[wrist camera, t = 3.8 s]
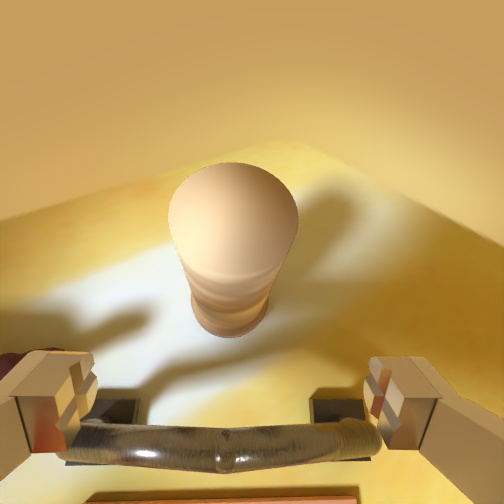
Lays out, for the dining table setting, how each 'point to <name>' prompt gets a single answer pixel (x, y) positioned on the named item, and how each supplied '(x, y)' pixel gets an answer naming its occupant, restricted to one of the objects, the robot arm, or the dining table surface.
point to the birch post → (231, 242)
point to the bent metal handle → (222, 440)
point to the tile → (248, 501)
